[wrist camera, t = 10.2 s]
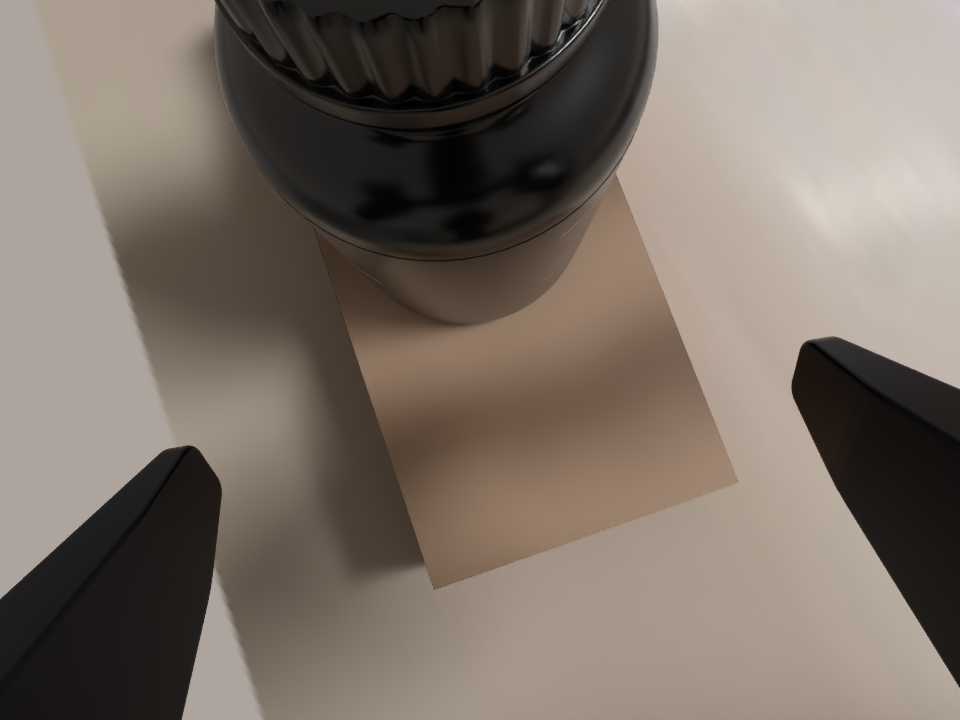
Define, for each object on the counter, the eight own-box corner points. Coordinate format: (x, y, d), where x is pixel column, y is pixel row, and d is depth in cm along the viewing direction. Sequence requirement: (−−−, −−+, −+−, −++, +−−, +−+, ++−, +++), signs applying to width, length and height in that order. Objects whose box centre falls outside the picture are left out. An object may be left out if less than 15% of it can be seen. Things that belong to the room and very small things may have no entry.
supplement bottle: (322, 290, 17) (-118, 3, 5) (396, 79, 17) (154, -643, 5) (544, 361, 16) (644, 229, 4) (614, 141, 17) (871, -502, 5)
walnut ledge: (702, 471, 19) (738, 482, 16) (445, 562, 19) (433, 590, 16) (497, -51, 21) (495, -128, 18) (267, 34, 21) (228, -29, 18)
